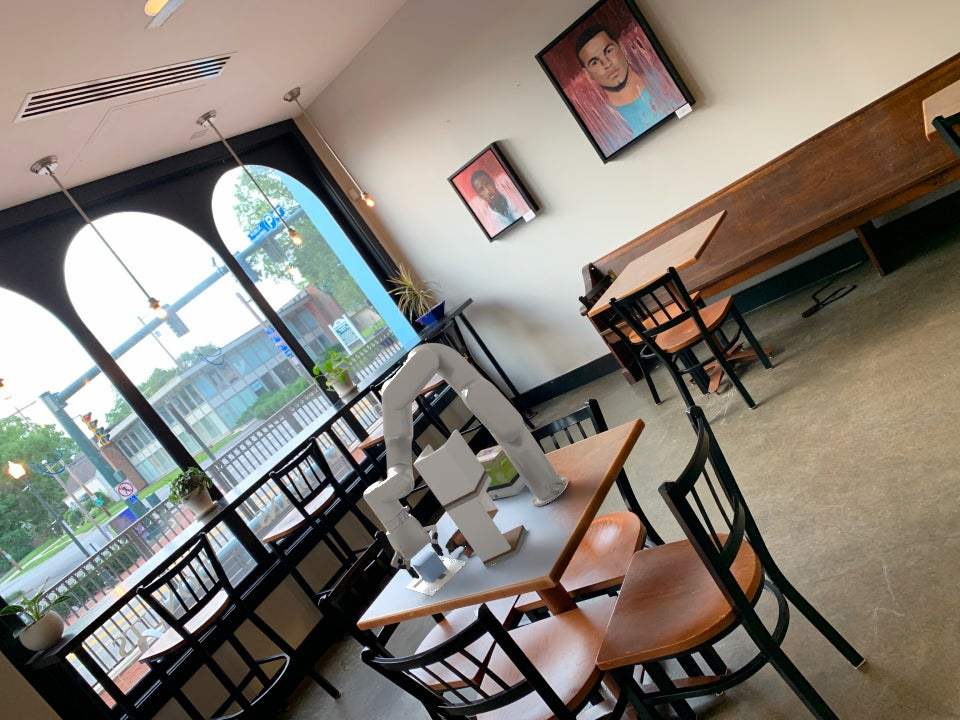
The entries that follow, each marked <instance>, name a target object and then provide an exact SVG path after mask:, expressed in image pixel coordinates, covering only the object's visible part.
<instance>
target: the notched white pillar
mask: <svg viewBox="0 0 960 720" xmlns="http://www.w3.org/2000/svg"><path fill="white" fill-rule="evenodd" d="M412 466H414V468H415V469H416V470H417V472H418V473H419V475H420V476H421V477H422V479H423V481H425V483H426V485H427V486H428V487H429V488H430V490H431V492H432V493H433V495H434V496H435V497H436V499H437V501H439V503H440V504H441V506H442V507H443V509H444V510H445V512H447V515H448V516H449V517H450V519H451V520H452V521H453V523H454V524H455V525H456V528H458V529H459V530H460V531H461V533H462V534H463V536H464V537H465V538H466V540H467V541H468V543H469V544H470V546H471V547H472V548H473V550H474V552H475V554H476V556H477V557H478V558H479V559H480V561H481V562H482V564H483V565H484V567H485V568H486V567H487V568H489V566H490V567H492V566H494V565H496V564H498V562H499V563H501V562H502V561H505V560H507V559H509V558H511V557H515V556H517V555H518V554H520V551H521V548H522V544H523V542H524V539H525V536H526V533H527V528H526V527H525V526H524V525H523V524H521V525H519V526H517V527H515V528H512V529H510V530H508V531H506V532H504V533H502V531H501V530H500V529H499V527H498V526H497V525H496V522H494V518H495V517H496V516H497V514H498V512H499V508H498V507H497V505H496V504H495V502H494V500H492V499H491V498H490V497H489V495H488V494H487V492H486V490H487V488H488V486H489V484H490V482H491V480H492V479H491V478H490V476H489V475H488V474H487V472H486V471H485V469H484V468H483V466H482V465H481V463H480V462H479V460H478V459H477V458H476V455H475V453H474V452H473V450H472V449H471V448H470V446H469V445H468V443H467V442H466V440H465V439H464V437H463V436H462V435H461V432H459V430H458V429H455V430H453V432H452V433H451V435H450V436H449V438H447V441H445V443H444V444H442V445H441V446H440V447H439V448H438V449H433V447H432V446H431V445H430V443H429V444H428V445H426V446H425V448H424V449H423V450H422V452H421V453H420V454H419V456H418V457H417V458H416V460H415V461H414V463H412ZM458 529H457V530H458ZM500 561H501V562H500ZM495 563H496V564H495ZM493 564H494V565H493ZM491 565H492V566H491Z"/></svg>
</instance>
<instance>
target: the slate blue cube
mask: <svg viewBox="0 0 960 720" xmlns="http://www.w3.org/2000/svg"><path fill="white" fill-rule="evenodd" d="M412 567H413V568H414V569H415V571H416V572H417V574H418V575H419V574H420V576H421V577H422V579H423V580H424V581H427V582H431V583H433V582H434V581H435V580H436V579H437V578H438V577H439V576H440V575H441V574H442V573H443V572H444V571H445V570H446V569H447V568H446V566H445V565H444V563H443V562H442V561H441V559H440V558H439V556H438V555H437V553H436V552H435V551H429V550H427V551H426V552H425V553H424V554H422V555H421V556H420V557H419V558H418V559H417V560H416V561H415V562H414V563H413V564H412Z"/></svg>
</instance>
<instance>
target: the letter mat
mask: <svg viewBox="0 0 960 720" xmlns="http://www.w3.org/2000/svg"><path fill="white" fill-rule="evenodd" d="M443 557H444V556H443ZM449 558H450V557H444V559H443V558H442V559H441V561H442V562H443V563H444V565H445V566H446V568H447V569H446V570H445V571H444V572H443V573H442V574H441V575H440V576H439V577H438V578H437V579H436V580H435V581H434V582H433V583H431V582H427V581H424V580H423V579H422V577H421V576H420V574H419V573H418V575H419V576H420V578H419V579H416V578H413V579H412V581H411V582H409V584H408V585H406V586H405V589H407V590H410V589H411V590H412V591H414V592H418V593H421V594H423V593H424V595H426V594H427V595H428V594H430V593H432V592H430V590H431V591H433V590H435V589H437V588H438V589H437V590H438V591H440V589H441V588H442V587H444V584H447V583H448V582H449V581H450V580H451V579H452V578H453V577H454V576H455V575H456V574H457V573H459V571H461V569H462V568H463V567H464V566H465V565H466V564H464V565H463V564H461V563H462V562H463V561H464V562H465V560H460V559H455V558H450V559H451V560H452V559H453V560H455V562H454V561H453V560H452V561H453V562H454V563H456V564H457V565H456V564H454V563H452V564H454V565H453V566H452V564H451V563H450V562H451V560H450V559H449ZM449 560H450V561H449ZM456 560H457V561H458V562H457V561H456ZM460 561H462V562H460ZM459 562H460V563H459ZM464 562H463V563H464ZM460 564H461V565H460ZM458 565H460V566H458ZM462 565H463V567H462ZM453 567H454V568H455V569H454V568H453ZM459 567H461V568H460V569H458V568H459ZM451 568H452V569H451ZM457 569H458V570H457ZM456 570H457V571H456ZM411 590H410V591H411ZM437 590H436V591H437ZM427 591H428V592H427ZM436 591H434V592H433V593H432V594H431V595H428V596H430V597H433V596H434V595H435V594H436V593H437V592H438V591H437V592H436ZM426 592H427V593H426ZM425 593H426V594H425ZM427 595H426V596H427Z"/></svg>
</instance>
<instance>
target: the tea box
mask: <svg viewBox="0 0 960 720" xmlns="http://www.w3.org/2000/svg"><path fill="white" fill-rule="evenodd" d="M475 456H476V458H477V459H478V460H479V462H480V463H481V465H482V466H483V468H484V469H485V471H486V472H487V474H488V475H489V476H490V478H491V479H492V480H491V482H490V484H489V486H488V488H487V490H486V492H487V494H488V495H489V497H490V498H491V499H492V501H494V500H496V499H502V498H503V499H504V498H507V497H512V496H518V495H520V493H521V492H522V490H523V489H524V488H525V487H526V486H527V485H526V484H525V482H524V481H523V479H522V478H521V476H520V475H519V473H518V472H517V470H516V469H515V467H514V466H513V464H512V463H511V462H510V460H509V458H508V457H507V455H506V454H505V453H504V451H503V450H502V448H501V447H500V445H499V444H498V445H495V446H492V447H488V448H485V449H482V450H480V451H479V452H478V453H477V454H476V455H475Z"/></svg>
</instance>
